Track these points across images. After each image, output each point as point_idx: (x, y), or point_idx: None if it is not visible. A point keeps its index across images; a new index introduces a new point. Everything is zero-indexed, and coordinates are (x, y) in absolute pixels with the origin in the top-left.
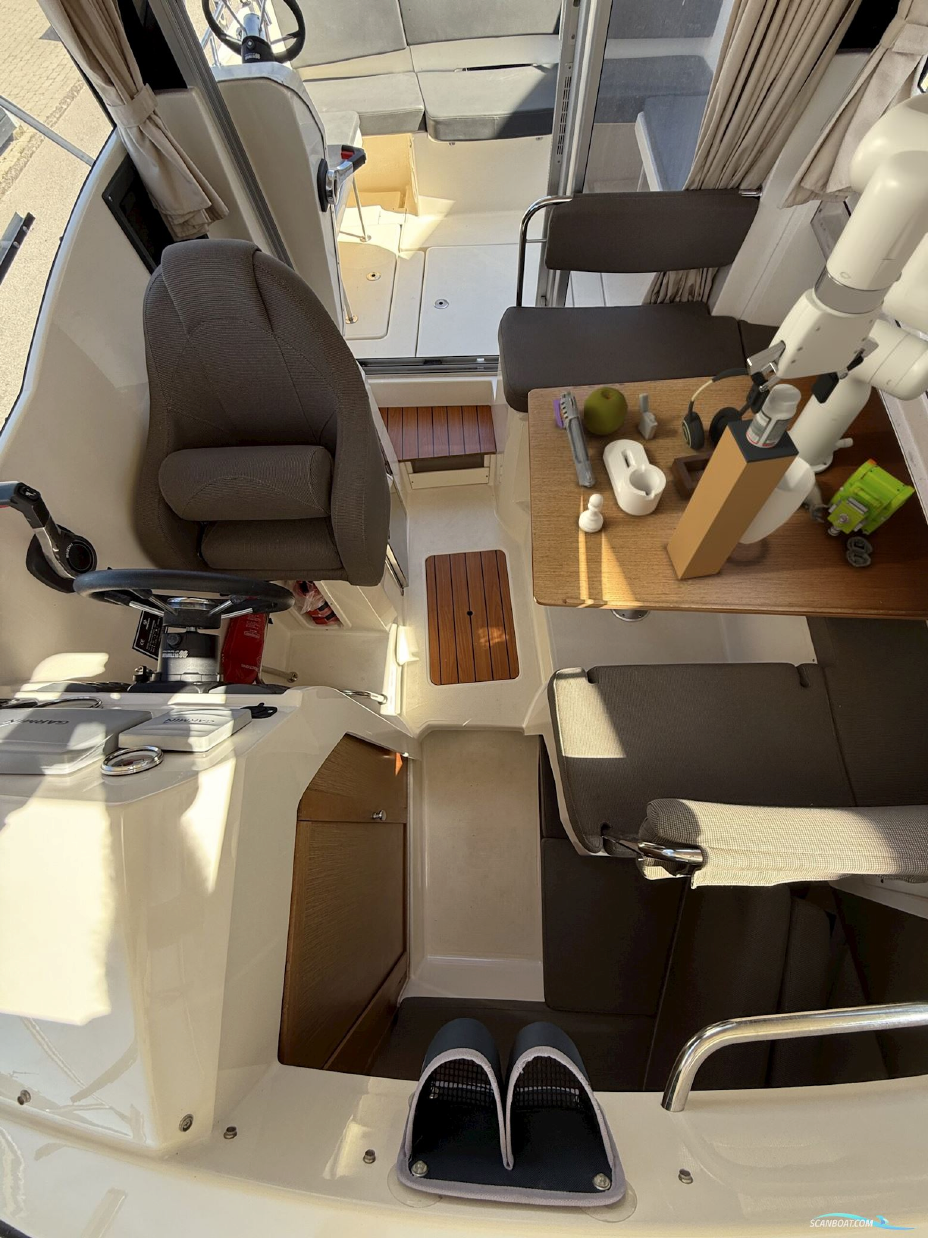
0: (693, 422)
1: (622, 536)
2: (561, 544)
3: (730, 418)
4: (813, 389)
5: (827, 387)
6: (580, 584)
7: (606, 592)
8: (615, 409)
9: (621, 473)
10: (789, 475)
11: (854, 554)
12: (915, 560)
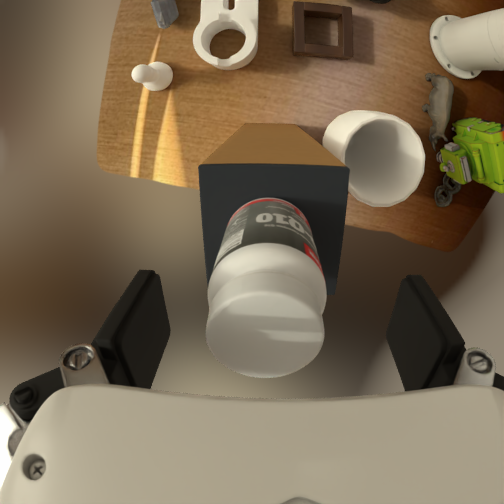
0: None
1: (193, 99)
2: (120, 105)
3: None
4: (403, 293)
5: (405, 373)
6: (132, 161)
7: (157, 174)
8: None
9: (213, 10)
10: (401, 137)
11: (443, 188)
12: (481, 209)
